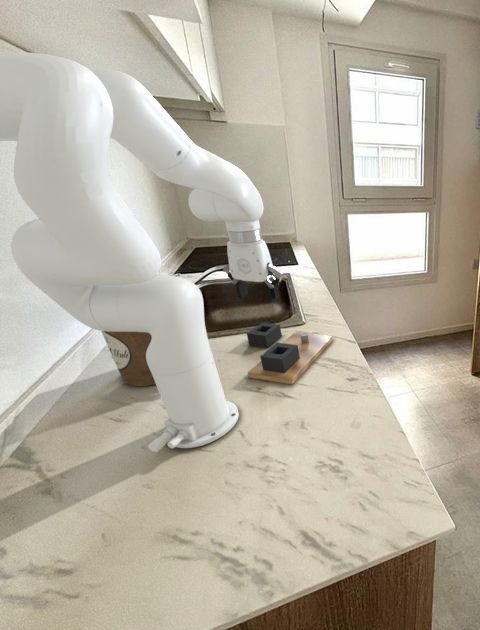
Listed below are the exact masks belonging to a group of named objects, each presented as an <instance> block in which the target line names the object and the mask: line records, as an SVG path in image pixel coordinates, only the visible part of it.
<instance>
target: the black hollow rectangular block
mask: <svg viewBox="0 0 480 630" xmlns="http://www.w3.org/2000/svg"><path fill="white" fill-rule="evenodd" d="M279 354H282V355H279ZM259 357H260V362H262V366H263V370H267V371H274V372H280V373H285V372H286V371H287V370H288V369H289V368H290V367H291V366H292V365H293V364H294V363H295V362H296V361H297V360H298V359H299V358H300V356H299V350H298V345H292V344H285V343H283V342H275V343H274V344H272V345H271V346H270V347H269V348H268V349H267V350H266V351H265V352H264V353H263V354H261V355H260V356H259Z"/></svg>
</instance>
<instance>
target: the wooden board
mask: <svg viewBox="0 0 480 630" xmlns="http://www.w3.org/2000/svg"><path fill="white" fill-rule="evenodd" d="M333 341H334V339H333V336H332V335H325V334H318V333H310V332H308V331H307V332H306V331H305V332H304V331H295V332H293V333H292V334H291V335H290V336H289V337H287V338H286V339H285V340H284V341H282V343H285V344H292V345H298V350H299V356H300V358H299V359H298V360H297V361H296V362H295V363H294V364H293V365H292V366H291V367H290V368H289V369H288V370H287V371H286V372H285V373H280V372H274V371H267V370H263V366H262V362H261V361H259V362H258V363H257V364H255V366H253V368H251V369H250V370H248V371H247V376H248V378H250V379H256V380H261V381H269V382H275V383H282V384H288V385H294V383H296V381H297V380H298V379H299V378H300V377H301V375H303V374H304V372H305V371H306V370H307V369H308V368H309V367H310V366H311V365H312V364H313V362H315V361H316V359H317V358H318V357H319V356H320V355H321V354H322V353H323V352H324V351H325V350H326V349H327V348H328V346H330V344H331V343H332V342H333ZM279 355H282V354H279Z"/></svg>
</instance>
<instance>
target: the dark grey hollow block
mask: <svg viewBox="0 0 480 630" xmlns="http://www.w3.org/2000/svg"><path fill="white" fill-rule="evenodd" d="M246 337H247V341H248V346H251V347H259V348H265V349H269V348H271V347H272V346H273V345H274V344H275V343H277V342H278V340H280V339H281V338H282V337H283V335H282V329H281V325H280V324H275V323H268V322H261V323H259V324H258V325H256V326H255V327H253V328H252V329H251V330H249V331H247V332H246Z"/></svg>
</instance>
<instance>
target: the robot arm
mask: <svg viewBox="0 0 480 630" xmlns="http://www.w3.org/2000/svg"><path fill="white" fill-rule="evenodd" d="M111 139H112V140H114V141H116V143H118V144H120V145H121V146H122V147H123V148H124V149H126V151H128V152H129V153H131V155H133V156H134V158H136V159H137V160H138V161H139V162H141V163H142V164H143V165H144V166H146V167H147V168H148V169H149V170H150V171H151V172H153V173H154V175H156V176H157V177H159V178H160V179H163V180H165V181H167V182H169V183H173V184H176V185H178V186H182V187H186V188H190V189H193V190H192V191H191V192H190V193H189V195H188V203H187V204H188V207H189V210H190V212H191V213H192V214H193V216H194V217H196V218H197V219H200V220H201V221H205V222H209V223H210V222H212V223H225V228H226V230H225V235H226V236H228V239H229V241H227V243H226V245H227V247H226V250H227V251H226V252H227V260H228V264H226V265H224V266H223V271H224V272H225V273H226V274H227V277H228V278H229V279H230V280H231V281H232V284H233V285H235V289H236V293H237V296H238V299H243V298H244V297H246V296H248V295H249V291H248V286H247V282H253V283H263V282H264V283H265V284H266V286H268V288H267V293H268V297H269V302H271V303H275V301H277V300H279V298H280V293H279V287H278V286H279V285H280V283H281V282H282V281H283V277H284V274H285V272H284V271H283V270H282V269H280V268H278V267H276V266H275V265H273V261H272V257H271V254H270V251H269V248H268V245H267V243H266V241H265V240H263V239H264V238H263V234H262V230H261V229H262V228H261V224H260V219H261V218H262V216H263V215H264V202H263V199H262V196H261V194H260V192H259V190H258V189H257V187H256V186H255V185H254V183H253V182H252V180H251V179H250V178H249V176H248V175H247V174H246V173H245V172H244V171H243V170H242V169H240V168H239V167H237V166H235V165H234V164H232V163H231V162H229V161H227V160H225V159H223V158H222V157H220V156H218V155H217V154H215V153H212V152H211V151H209V150H207V149H204V148H202V147H200V146H199V145H196V144H195V143H194V142H193V141H192V139H190V137H189V136H188V135H187V134H186V132H185V131H184V130H183V129H182V128H181V127H180V125H179V124H177V122H176V121H175V120H174V119H173V117H171V115H170V114H169V113H168V112H167V111H166V110H165V108H164V107H163V106H162V105H161V104H160V102H159V101H158V100H157V99H156V98H155V97H154V96H153V95H152V94H151V93H150V91H149V90H148V89H147V88H146V87H145V86H144V84H142V83H141V82H140V81H139V80H137V79H136V78H135V77H133V76H132V75H130V74H129V73H126V72H124V71H120V70H117V69H113V68H106V67H86V66H85V65H83V64H81V63H79V62H77V61H75V60H72V59H69V58H66V57H63V56H59V55H54V54H47V53H40V52H39V53H38V52H26V51H25V52H24V51H0V142H1V141H2V142H3V141H4V142H11V141H12V142H16V145H15V146H16V147H15V154H14V160H13V161H14V163H13V177H14V183H15V186H16V190H17V191H18V194H19V196H20V197H21V198H22V200H23V201H24V203H25V205H26V206H27V207H28V208H29V209H30V210H31V212H33V213H34V215H35V216H36V217H37V218H36V219H32V220H29V221H27V222H25V223H23V224H22V225H20V226H19V227H18V228H17V229H16V230H15V232H14V233H13V235H12V238H11V243H10V248H11V253H12V257H13V259H14V261H15V264H16V266H17V267H18V270H20V272H21V273H22V274H23V276H25V277H26V278H27V279H28V280H29V281H30V282H31V283H32V284H33V285H34V286H35V287H37V288H38V289H39V290H40V291H41V292H43V293H44V294H45V295H46V296H47V297H48V298H49V299H51V300H52V301H53V302H55V304H57V305H58V306H59V307H61V308H62V309H63V310H64V311H65V312H67V313H68V314H69V315H70V316H71V317H73V318H74V319H75V320H76V321H78V322H79V323H81V324H83V325H84V326H86V327H87V328H89V329H93V330H96V331H111V332H147V333H150V334H151V336H152V339H151V342H150V344H149V346H148V349H147V351H146V360H147V364H148V366H149V369H150V371H151V373H152V376H153V378H154V381H155V383H156V384H155V387H156V388H157V390H158V393H159V396H160V398H161V401H162V403H163V405H164V408H165V410H166V413H167V416H168V419H167V420H165V421H164V425H165V429H163V431H162V434H161V435H159V436H157V437H156V438H155V439H154V440H152V441H151V442H150V443H148V445H147V447H148V449H149V450H150V451H151V452H152V453H158V452H159V451H160V450H161V449H162V448H164V447H165V446H166V445H167V447H168V448H169V449H174V448H179V449H193V448H198V447H202V446H205V445H208V444H210V443H212V442H214V441H217V440H218V439H220V438H221V437H224V436H225V435H226V434H227V433H228V432H230V431H231V429H233V427H235V426H236V424H237V422H238V421H239V417H240V416H239V415H240V412H239V408H238V406H237V405H236V404H235V403H233V402H232V401H229V400H227V399H226V395H225V392H224V389H223V385H222V381H221V378H220V375H219V372H218V369H217V365H216V361H215V358H214V355H213V352H212V348H211V345H210V342H209V337H208V333H207V329H206V322H205V306H204V305H205V304H204V303H205V302H204V298H203V293H202V291H201V289H200V288H199V287H198V286H197V284H195V283H194V282H193V281H191V280H190V279H187V278H184V277H181V276H176V275H168V274H167V275H166V274H159V272H160V271H161V269H162V265H163V264H162V257H161V254H160V252H159V249H158V248H157V246H156V245H155V243H154V241H153V240H152V238H151V236H150V235H149V234H148V232H147V231H146V230H145V228H144V227H143V226H142V224H141V223H140V221H139V220H138V218H137V217H136V216H135V214H134V213H133V212H132V210H131V209H130V208H129V206H128V205H127V203H126V202H125V200H124V199H123V198H122V196H121V195H120V193H119V191H118V190H117V188H116V186H115V185H114V183H113V181H112V178H111V175H110V170H109V159H108V158H109V157H108V156H109V147H110V146H109V145H110V140H111ZM274 275H275V276H274Z"/></svg>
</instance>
